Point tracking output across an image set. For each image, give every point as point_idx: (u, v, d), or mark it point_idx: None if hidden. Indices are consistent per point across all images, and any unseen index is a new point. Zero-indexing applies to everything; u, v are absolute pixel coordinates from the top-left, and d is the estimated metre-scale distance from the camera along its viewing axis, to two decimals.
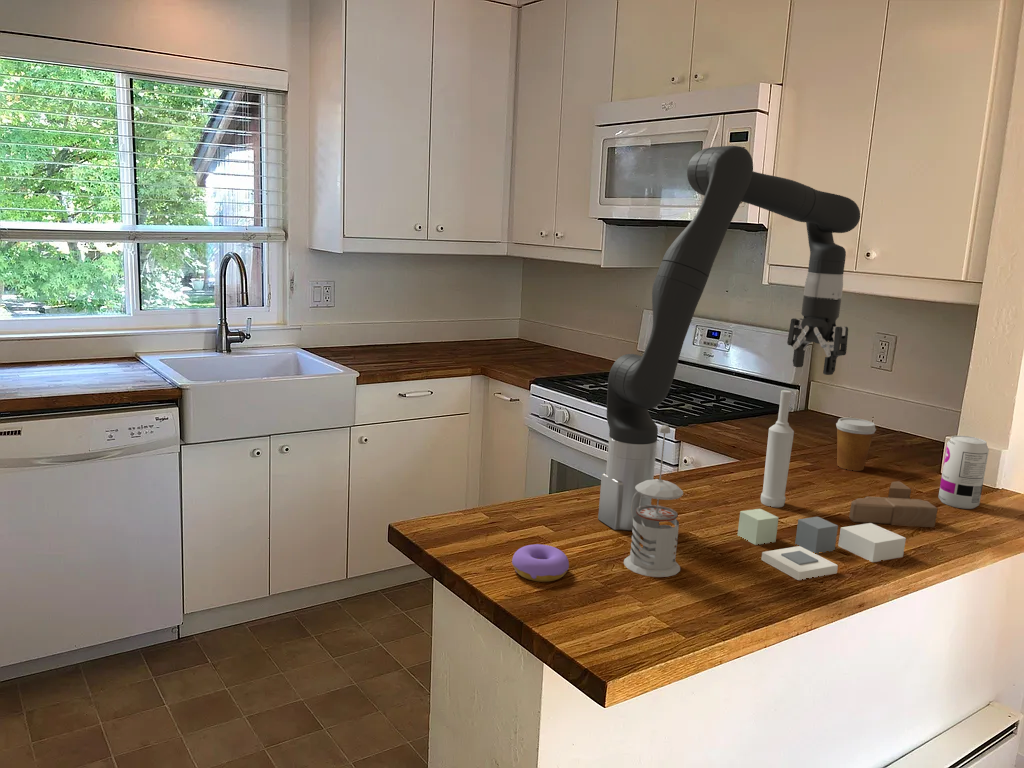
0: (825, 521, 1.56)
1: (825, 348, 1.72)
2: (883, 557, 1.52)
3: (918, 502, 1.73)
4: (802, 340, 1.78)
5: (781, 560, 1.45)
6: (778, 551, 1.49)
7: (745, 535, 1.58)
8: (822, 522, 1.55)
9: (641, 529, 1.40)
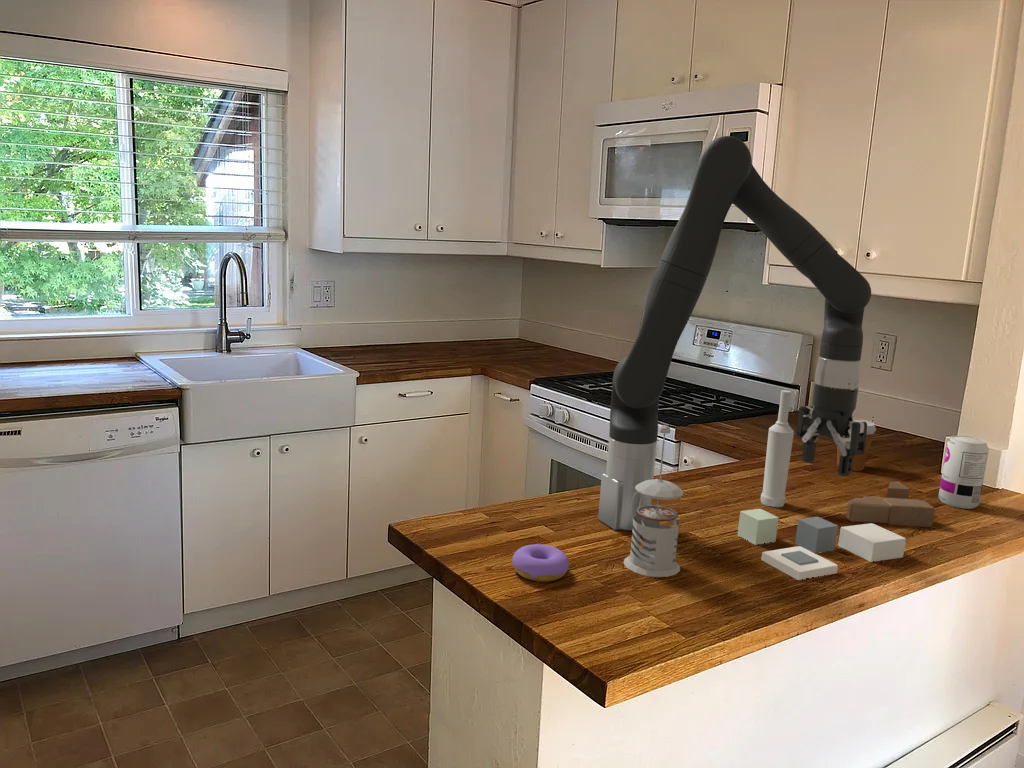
0: (825, 521, 1.56)
1: (840, 446, 1.48)
2: (882, 557, 1.52)
3: (915, 502, 1.73)
4: (813, 433, 1.54)
5: (781, 560, 1.45)
6: (778, 551, 1.49)
7: (745, 535, 1.58)
8: (822, 522, 1.55)
9: (641, 529, 1.40)
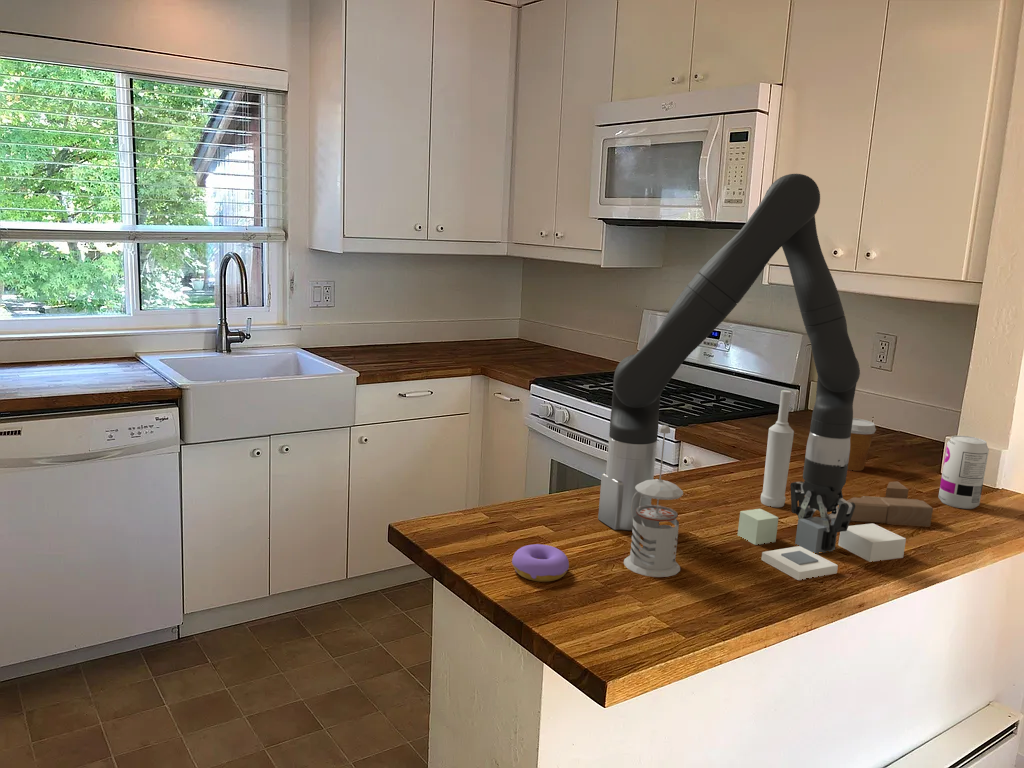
0: None
1: (825, 522, 1.52)
2: (881, 557, 1.52)
3: (913, 502, 1.73)
4: (807, 508, 1.56)
5: (781, 560, 1.45)
6: (778, 551, 1.49)
7: (745, 535, 1.58)
8: (822, 522, 1.55)
9: (641, 529, 1.40)
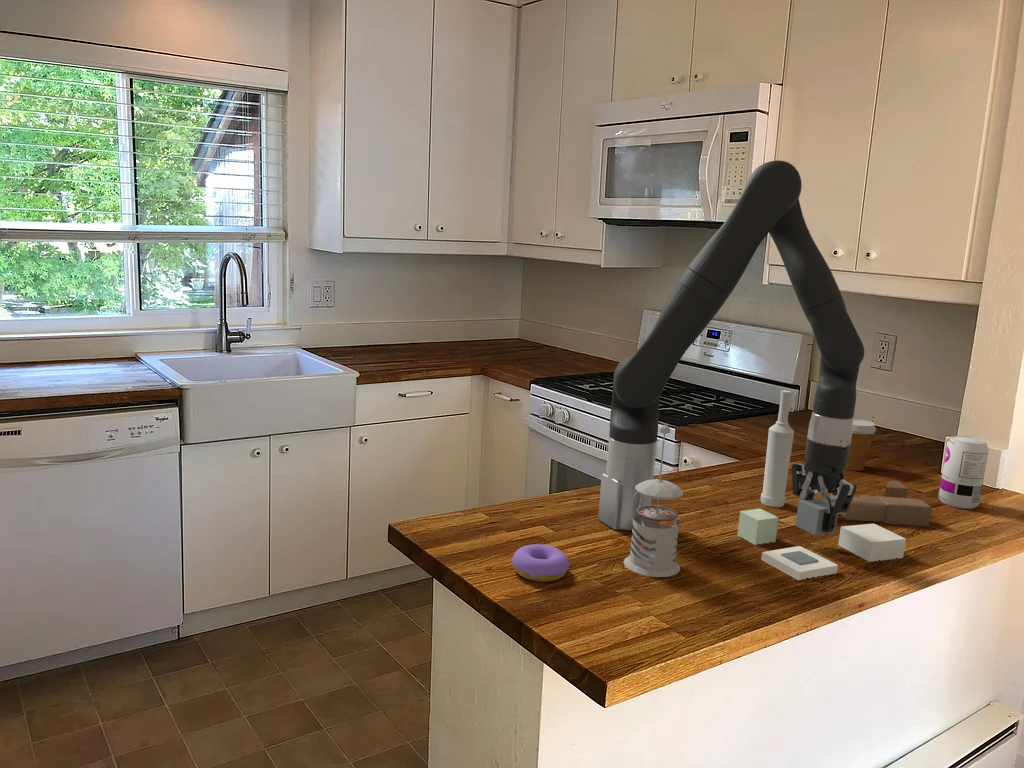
0: None
1: (826, 503, 1.51)
2: (881, 557, 1.52)
3: (912, 501, 1.73)
4: (808, 489, 1.55)
5: (781, 560, 1.45)
6: (778, 551, 1.49)
7: (745, 535, 1.58)
8: (823, 504, 1.54)
9: (641, 529, 1.40)
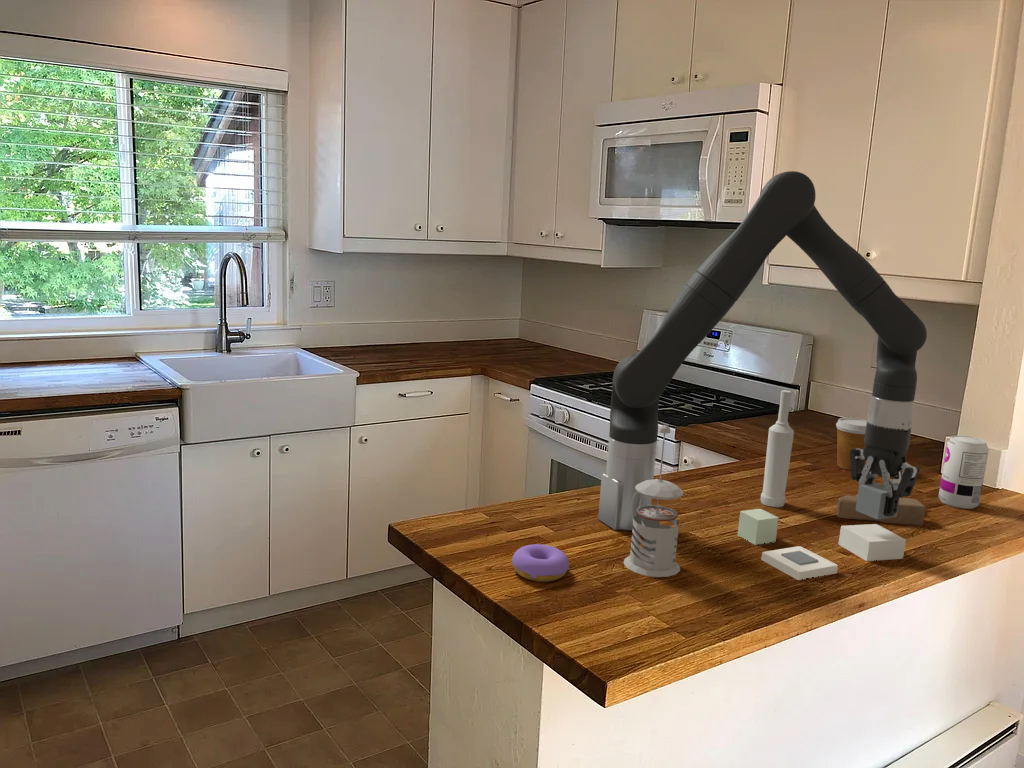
0: None
1: (888, 487, 1.50)
2: (879, 557, 1.52)
3: (907, 500, 1.74)
4: (868, 474, 1.54)
5: (781, 560, 1.45)
6: (778, 551, 1.49)
7: (745, 535, 1.58)
8: (884, 488, 1.53)
9: (641, 529, 1.40)
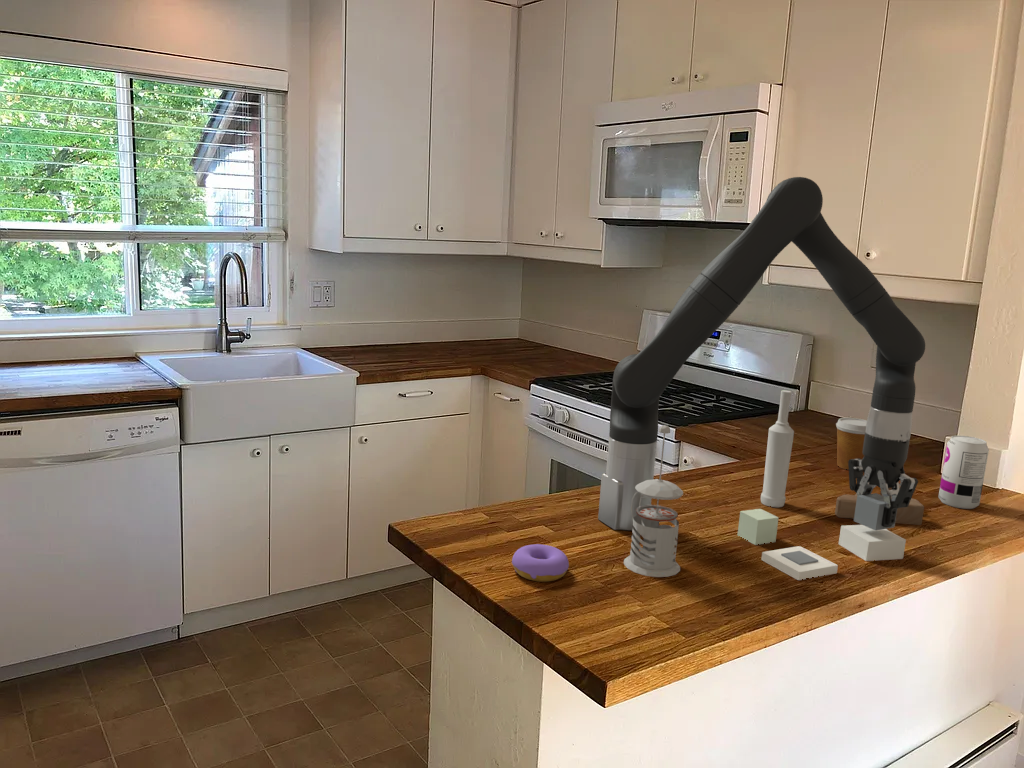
0: None
1: (886, 497, 1.51)
2: (879, 557, 1.52)
3: None
4: (866, 484, 1.54)
5: (781, 560, 1.45)
6: (778, 551, 1.49)
7: (745, 535, 1.58)
8: (882, 499, 1.54)
9: (641, 529, 1.40)
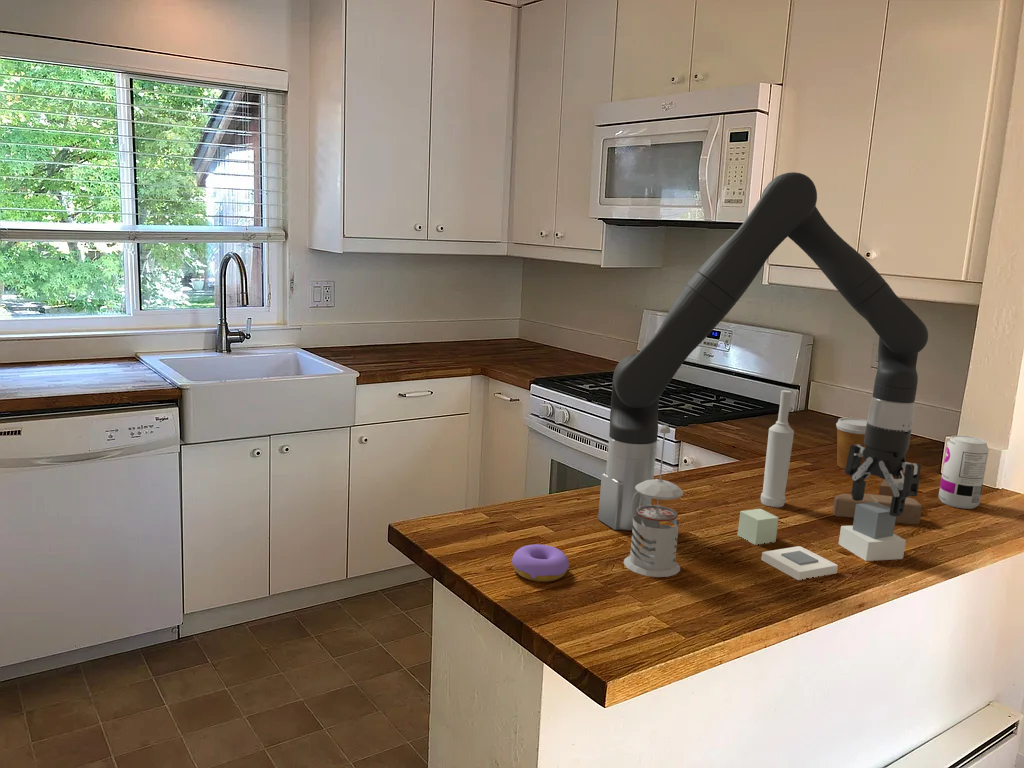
0: (883, 506, 1.55)
1: (893, 487, 1.49)
2: (879, 557, 1.52)
3: None
4: (864, 472, 1.55)
5: (781, 560, 1.45)
6: (778, 551, 1.49)
7: (745, 535, 1.58)
8: (880, 507, 1.54)
9: (641, 529, 1.40)
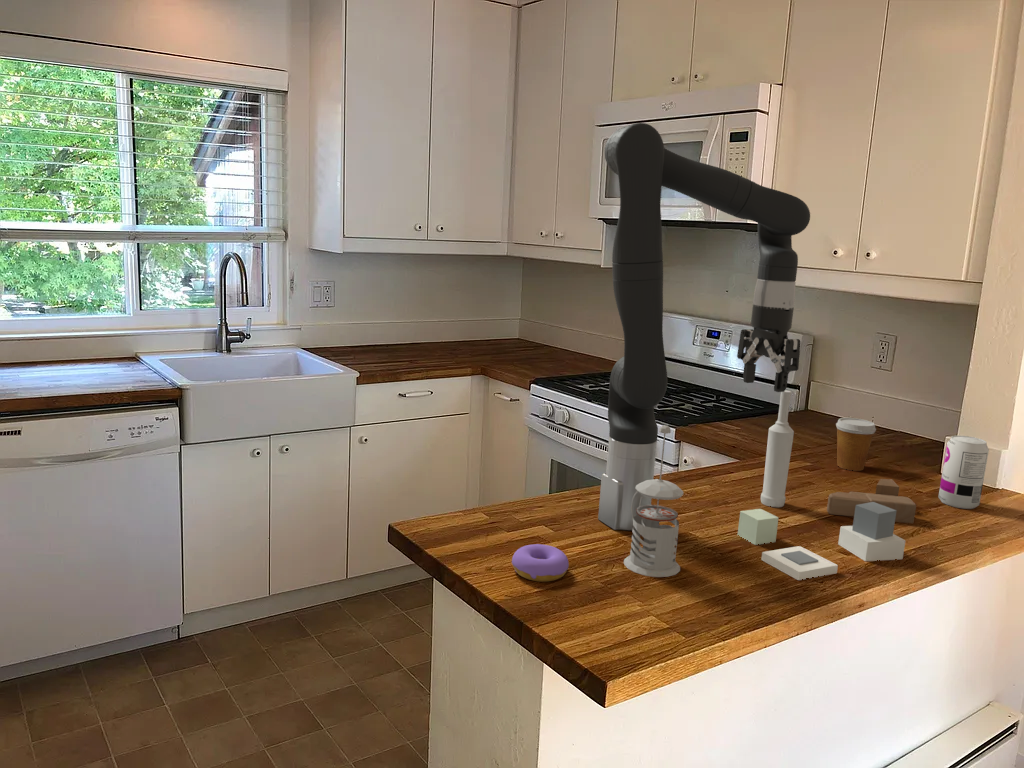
0: (882, 506, 1.55)
1: (776, 363, 1.56)
2: (878, 557, 1.51)
3: (898, 498, 1.75)
4: (752, 353, 1.62)
5: (781, 560, 1.45)
6: (778, 551, 1.49)
7: (745, 535, 1.58)
8: (880, 508, 1.54)
9: (641, 529, 1.40)
